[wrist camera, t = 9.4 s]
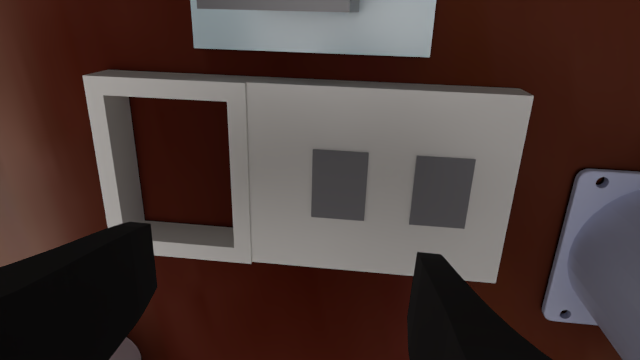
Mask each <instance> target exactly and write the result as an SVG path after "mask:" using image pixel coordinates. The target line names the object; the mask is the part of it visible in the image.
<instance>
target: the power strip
mask: <svg viewBox="0 0 640 360" xmlns="http://www.w3.org/2000/svg"><path fill="white" fill-rule="evenodd" d="M83 81H84V87H85V93H86V99H87V105H88V111H89V117H90V123H91V129H92V135H93V141H94V147H95V153H96V159H97V165H98V172H99V178H100V184H101V190H102V196H103V202H104V208H105V214H106V220H107V226H108V228H110V227H113V226H116V225H119V224H122V223H126V222H139V223H148V224H151V231H152V241H153V250H154V255H157V256H169V257H180V258H191V259H202V260H213V261H225V262H236V263H247V264H251V263H252V262H261V263H273V264H284V265H295V266H307V267H318V268H329V269H340V270H352V271H363V272H374V273H385V274H397V275H408V276H414V269H415V263H416V256H417V252H424V253H433V254H441V255H442V256H443V257H444V258H445V259H446V260H447V261H448V262H449V264H450V265H451V266H452V267H453V268H454V269H455V271H456V272H457V273H458V274H459V275H460V276H461V277H462V279H463V280H464V281H475V282H487V283H496V279H497V274H498V269H499V264H500V259H501V255H502V250H503V245H504V240H505V235H506V230H507V225H508V220H509V215H510V211H511V206H512V201H513V196H514V191H515V186H516V181H517V176H518V171H519V166H520V162H521V157H522V152H523V147H524V142H525V137H526V132H527V127H528V122H529V118H530V113H531V108H532V103H533V98H534V96H533V95H531V94H529V93H527V92H526V91H524V90H522V89H520V88H500V87H478V86H456V85H434V84H412V83H390V82H368V81H346V80H324V79H302V78H280V77H258V76H236V75H214V74H192V73H170V72H148V71H126V70H106V71H101V72H96V73H92V74H87V75H83ZM129 97H147V98H166V99H186V100H205V101H225V102H227V113H228V133H229V153H230V173H231V193H232V213H233V228H232V227H219V226H207V225H195V224H182V223H170V222H158V221H145V218H144V210H143V202H142V195H141V187H140V180H139V172H138V164H137V157H136V149H135V141H134V134H133V126H132V119H131V111H130V103H129Z"/></svg>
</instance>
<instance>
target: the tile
mask: <svg viewBox="0 0 640 360" xmlns="http://www.w3.org/2000/svg"><path fill="white" fill-rule="evenodd" d="M190 1H191V14H192V28H193V41H194V48H204V49H229V50H255V51H280V52H306V53H331V54H357V55H382V56H407V57H430V51H431V42H432V34H433V25H434V16H435V7H436V0H360V1H359V12H312V11H271V10H229V9H197V0H190Z"/></svg>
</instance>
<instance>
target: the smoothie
mask: <svg viewBox="0 0 640 360" xmlns="http://www.w3.org/2000/svg"><path fill="white" fill-rule="evenodd" d="M109 360H141V355H140V352H139V350H138V348H137V347H136V345H135V344H134V343H133V342H132V341H131V340H130V339H129V338H127V337H126V338H125V339H124V341H123V342H122V343H121V345H120V346H119V347H118V349H117V350H116V351H115V353H114V354H113V355H112V357H111V358H110V359H109Z"/></svg>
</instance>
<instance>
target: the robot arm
mask: <svg viewBox="0 0 640 360" xmlns="http://www.w3.org/2000/svg"><path fill="white" fill-rule="evenodd" d="M601 177H604V182H603V183H602V184H600V185H596V181H597V180H598V179H599V178H601ZM156 288H157V280H156V270H155V260H154V250H153V241H152V231H151V224H148V223H139V222H126V223H122V224H119V225H116V226H113V227H110V228H107V229H104V230H101V231H99V232H96V233H93V234H91V235H88V236H86V237H83V238H80V239H78V240H75V241H73V242H70V243H67V244H65V245H62V246H60V247H57V248H54V249H52V250H49V251H46V252H43V253H40V254H37V255H35V256H32V257H29V258H26V259H23V260H21V261H18V262H15V263H12V264H9V265H6V266H3V267H0V360H109V359H110V358H111V357H112V355H113V354H114V353H115V351H116V350H117V349H118V347H119V346H120V345H121V343H122V342H123V341H124V339H125V338H126V337H127V335H128V334H129V333H130V331H131V330H132V329H133V327H134V326H135V325H136V323H137V322H138V320H139V319H140V317H141V316H142V314H143V312H144V311H145V309H146V307H147V305H148V304H149V302H150V300H151V298H152V296H153V294H154V292H155V290H156ZM563 310H567V312H566V313H563V314H560V313H561V311H563ZM542 313H543V314H544V316H545V318H546V319H548V320H550V321H558V322H568V323H578V324H589V325H598V326H599V327H600V329H601V330H602V331H603V333H604V334H605V336H606V337H607V338H608V340H609V341H610V343H611V344H612V346H613V347H614V348H615V350H616V351H617V353H618V354H619V355H620V357H621V358H622V360H640V172H637V171H621V170H605V169H584V170H582V171H580V172H579V173H578V174H577V175H576V177H575V180H574V184H573V188H572V192H571V196H570V200H569V203H568V207H567V211H566V215H565V219H564V223H563V227H562V231H561V235H560V239H559V243H558V246H557V250H556V254H555V258H554V262H553V266H552V270H551V274H550V278H549V282H548V286H547V289H546V293H545V297H544V301H543V305H542ZM407 322H408V351H409V358H410V360H552V359H551V358H549V357H548V356H546V355H545V354H544V353H542V352H541V351H540V350H539V349H537V348H536V347H535V346H533V345H532V344H531V343H530V342H528V341H527V340H526V339H525V338H523V337H522V336H521V335H520V334H518V333H517V332H516V331H515V330H514V329H513V328H511V327H510V326H509V325H508V324H507V323H506V322H505V321H504V320H503V319H502V318H501V317H499V316H498V315H497V314H496V313H495V312H494V311H493V310H492V309H491V308H490V307H489V306H488V305H487V304H486V303H485V302H484V301H483V300H482V299H481V298H480V297H479V296H478V295H477V294H476V293H475V292H474V291H473V290H472V288H471V287H470V286H469V285H468V284H467V283H466V282H465V281H464V280H463V279H462V277H461V276H460V275H459V274H458V273H457V272H456V271H455V269H454V268H453V267H452V266H451V265H450V264H449V262H448V261H447V260H446V259H445V258H444V257H443V256H442V255H441V254H433V253H424V252H417V256H416V263H415V269H414V276H413V283H412V289H411V296H410V303H409V309H408V316H407Z"/></svg>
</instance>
